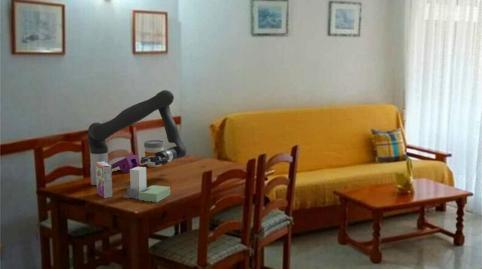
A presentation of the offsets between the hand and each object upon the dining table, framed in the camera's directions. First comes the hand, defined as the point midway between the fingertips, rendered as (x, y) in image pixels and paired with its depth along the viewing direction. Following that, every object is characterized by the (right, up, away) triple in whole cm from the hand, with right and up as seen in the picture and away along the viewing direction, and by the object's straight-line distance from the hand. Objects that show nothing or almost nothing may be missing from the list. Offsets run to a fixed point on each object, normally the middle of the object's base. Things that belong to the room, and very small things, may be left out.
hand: (148, 162), depth 279 cm
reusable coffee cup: (-6, -5, +60) cm, 61 cm away
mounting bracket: (-24, -7, +47) cm, 53 cm away
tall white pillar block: (-4, -16, -8) cm, 18 cm away
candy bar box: (-21, -16, -8) cm, 27 cm away
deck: (+1, -16, -9) cm, 19 cm away
